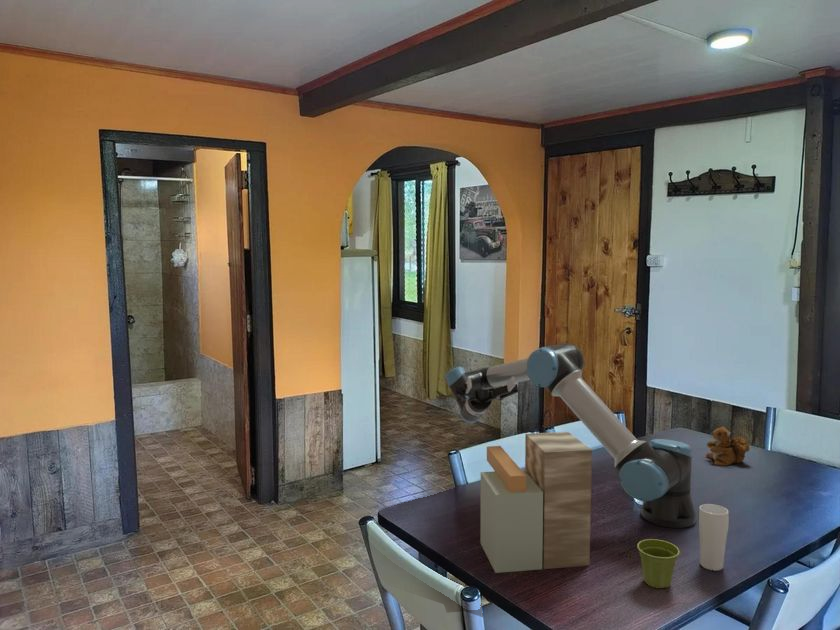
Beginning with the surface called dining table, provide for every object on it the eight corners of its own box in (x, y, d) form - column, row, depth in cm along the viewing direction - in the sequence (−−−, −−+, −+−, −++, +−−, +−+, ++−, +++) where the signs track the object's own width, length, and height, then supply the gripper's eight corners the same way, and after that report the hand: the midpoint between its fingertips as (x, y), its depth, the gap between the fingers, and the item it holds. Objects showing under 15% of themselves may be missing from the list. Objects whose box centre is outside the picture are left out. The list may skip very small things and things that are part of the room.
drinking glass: (729, 574, 153) (732, 515, 152) (700, 572, 155) (702, 513, 153) (722, 561, 160) (724, 504, 159) (694, 558, 161) (696, 502, 160)
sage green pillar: (480, 543, 171) (480, 472, 169) (523, 540, 173) (523, 469, 171) (495, 572, 155) (495, 494, 153) (542, 569, 157) (543, 491, 155)
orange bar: (486, 460, 178) (486, 446, 178) (500, 459, 179) (500, 445, 179) (510, 492, 155) (510, 476, 154) (525, 491, 155) (526, 475, 155)
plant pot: (674, 597, 144) (675, 561, 143) (632, 586, 149) (633, 551, 148) (681, 579, 152) (682, 544, 151) (641, 569, 157) (642, 535, 156)
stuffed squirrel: (703, 456, 241) (704, 423, 240) (743, 458, 238) (745, 424, 237) (709, 465, 231) (711, 430, 230) (751, 467, 228) (753, 432, 227)
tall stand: (524, 540, 173) (525, 433, 170) (566, 536, 174) (568, 431, 171) (543, 569, 157) (545, 452, 154) (589, 565, 158) (591, 450, 155)
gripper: (515, 410, 210) (533, 392, 191) (442, 414, 207) (453, 395, 188) (512, 389, 213) (529, 368, 194) (440, 392, 210) (450, 371, 191)
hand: (492, 381), depth 191 cm, fingers open, 13 cm apart
